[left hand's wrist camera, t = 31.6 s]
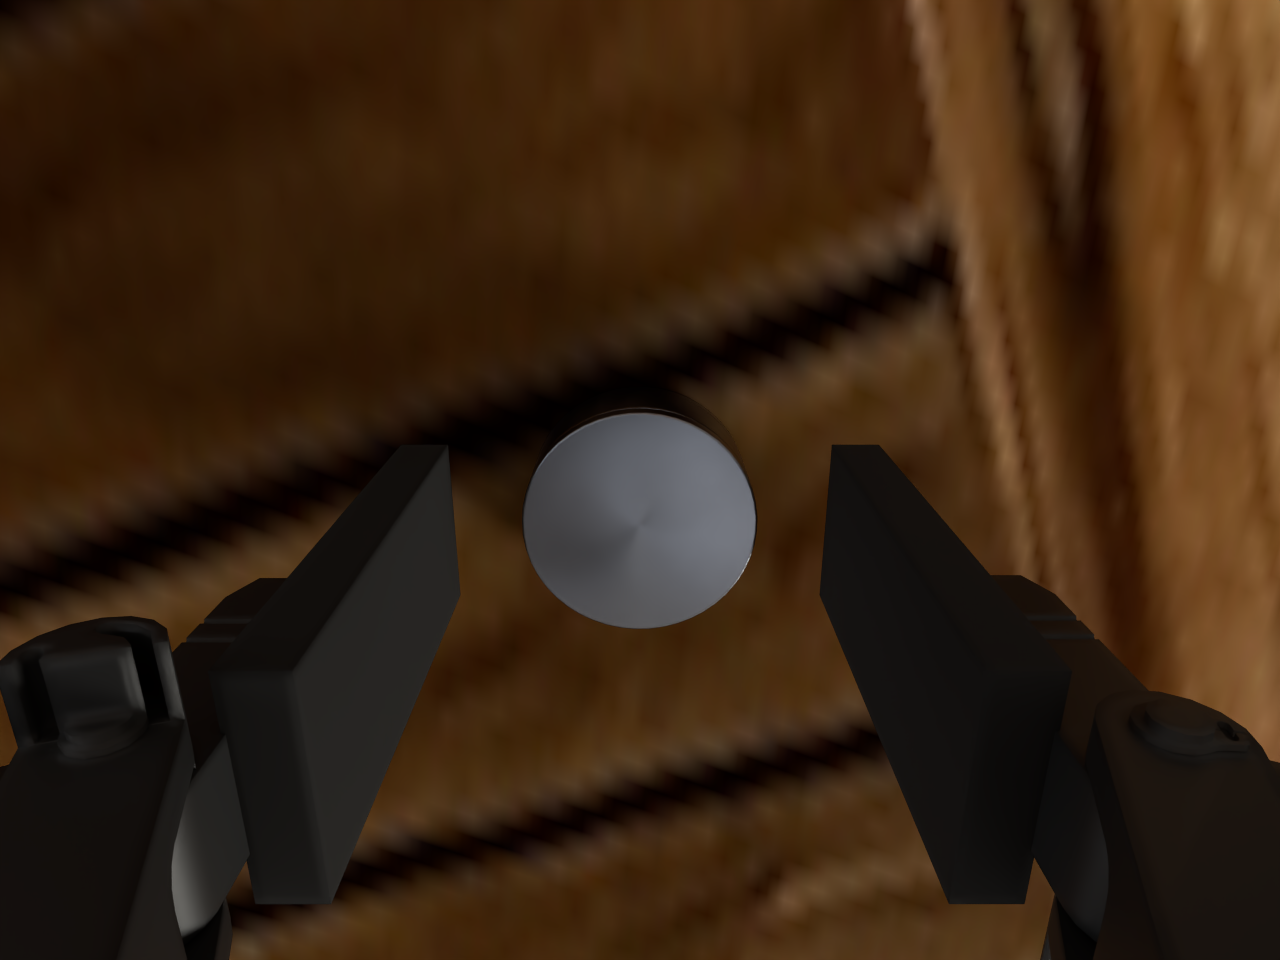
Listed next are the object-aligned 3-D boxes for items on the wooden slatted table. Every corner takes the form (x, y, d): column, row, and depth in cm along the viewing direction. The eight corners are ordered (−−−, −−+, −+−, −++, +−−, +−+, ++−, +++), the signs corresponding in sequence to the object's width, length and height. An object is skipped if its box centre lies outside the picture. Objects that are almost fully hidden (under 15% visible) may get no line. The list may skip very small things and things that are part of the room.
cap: (787, 459, 15) (805, 493, 14) (669, 617, 16) (673, 666, 15) (605, 343, 14) (601, 365, 13) (496, 517, 16) (478, 558, 14)
